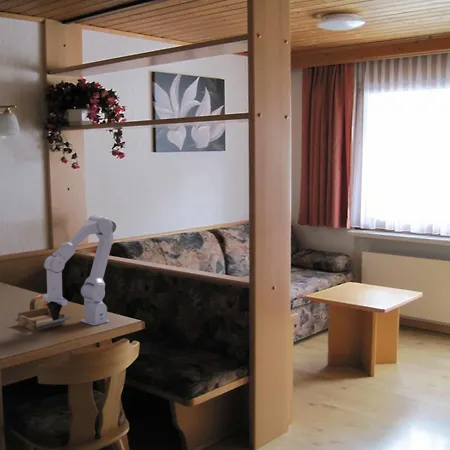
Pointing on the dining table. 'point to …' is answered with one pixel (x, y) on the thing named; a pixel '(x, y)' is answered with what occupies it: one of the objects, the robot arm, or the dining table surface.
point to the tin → (38, 302)
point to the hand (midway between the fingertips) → (55, 320)
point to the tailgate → (53, 322)
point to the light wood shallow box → (37, 318)
